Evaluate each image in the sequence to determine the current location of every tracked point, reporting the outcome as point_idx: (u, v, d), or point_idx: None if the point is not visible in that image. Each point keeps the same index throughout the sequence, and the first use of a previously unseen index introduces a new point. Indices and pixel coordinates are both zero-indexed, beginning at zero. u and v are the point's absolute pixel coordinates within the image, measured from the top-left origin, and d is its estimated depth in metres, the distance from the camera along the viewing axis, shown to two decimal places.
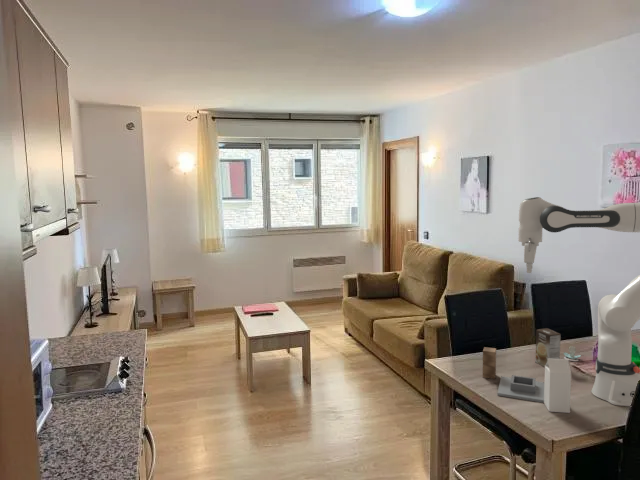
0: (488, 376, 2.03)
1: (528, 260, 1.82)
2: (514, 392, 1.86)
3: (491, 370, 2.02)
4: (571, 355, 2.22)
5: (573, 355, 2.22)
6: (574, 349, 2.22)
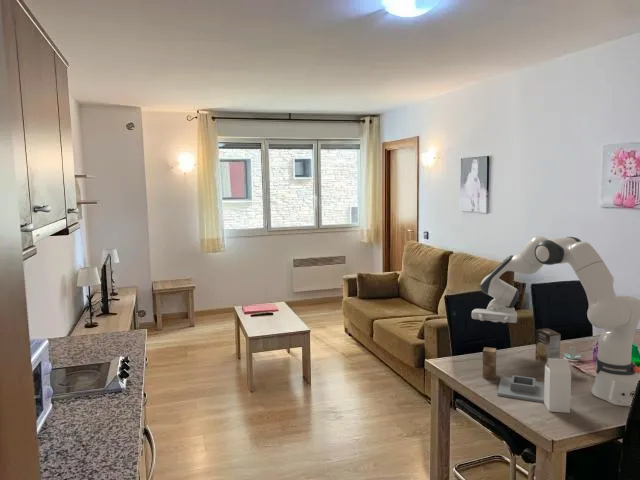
0: (488, 376, 2.03)
1: (471, 315, 2.23)
2: (514, 392, 1.86)
3: (491, 370, 2.02)
4: (571, 355, 2.22)
5: (573, 355, 2.22)
6: (574, 349, 2.21)
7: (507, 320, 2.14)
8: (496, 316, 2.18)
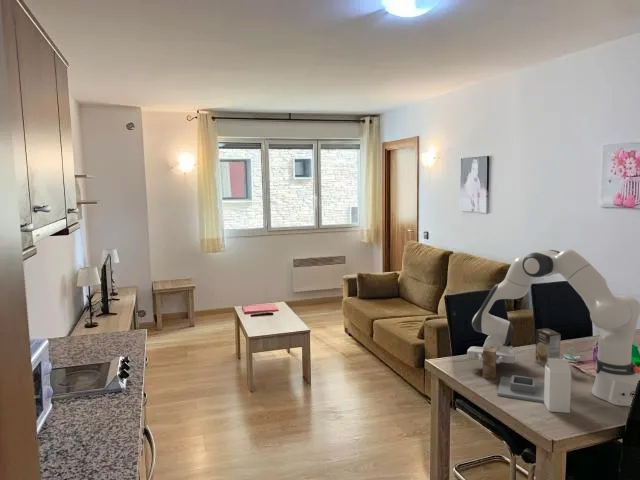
0: (488, 376, 2.03)
1: (467, 353, 2.13)
2: (514, 392, 1.86)
3: (491, 370, 2.02)
4: (570, 356, 2.21)
5: (572, 356, 2.21)
6: (573, 350, 2.20)
7: (501, 360, 2.04)
8: None
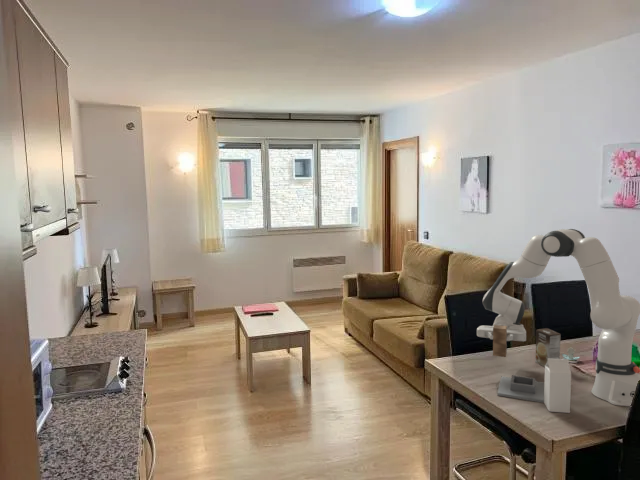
0: (499, 354, 1.97)
1: None
2: (514, 392, 1.86)
3: (502, 348, 1.96)
4: (570, 357, 2.21)
5: (572, 357, 2.20)
6: (573, 350, 2.20)
7: (511, 338, 1.98)
8: None
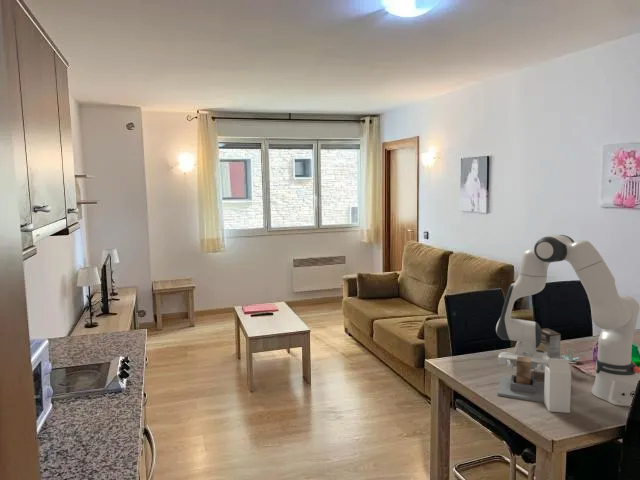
0: None
1: (498, 360, 1.98)
2: (514, 392, 1.86)
3: (526, 381, 1.87)
4: (569, 357, 2.20)
5: (571, 357, 2.19)
6: (572, 351, 2.19)
7: (540, 368, 1.88)
8: None
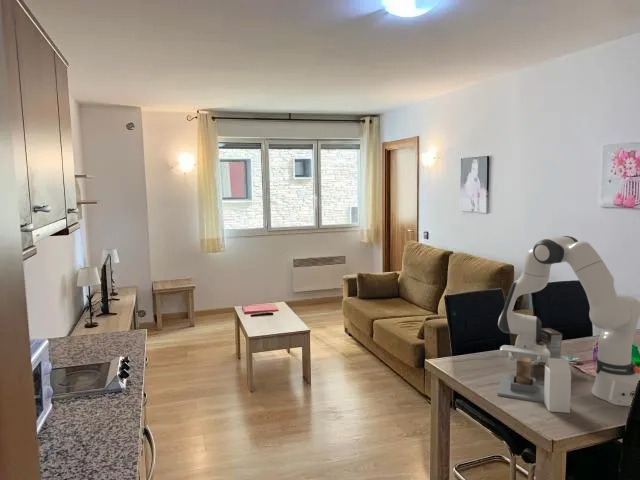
0: None
1: None
2: (514, 392, 1.86)
3: (526, 381, 1.87)
4: (569, 357, 2.19)
5: (571, 357, 2.19)
6: (572, 351, 2.19)
7: (540, 360, 1.97)
8: (527, 355, 2.01)
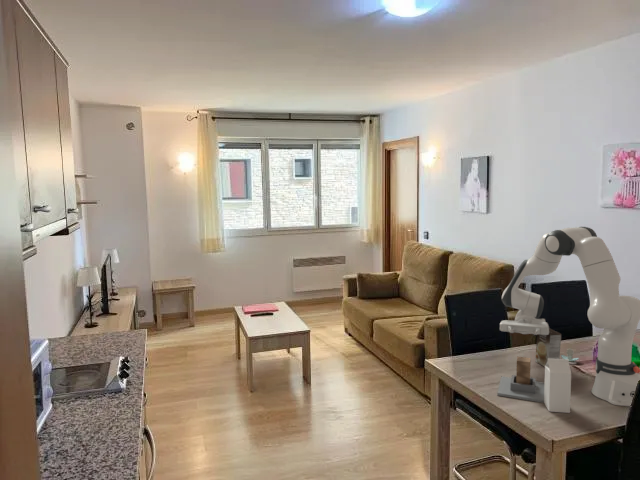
0: None
1: None
2: (514, 392, 1.86)
3: (526, 381, 1.87)
4: (569, 358, 2.19)
5: (571, 358, 2.19)
6: (572, 352, 2.18)
7: (538, 332, 2.03)
8: (526, 328, 2.07)
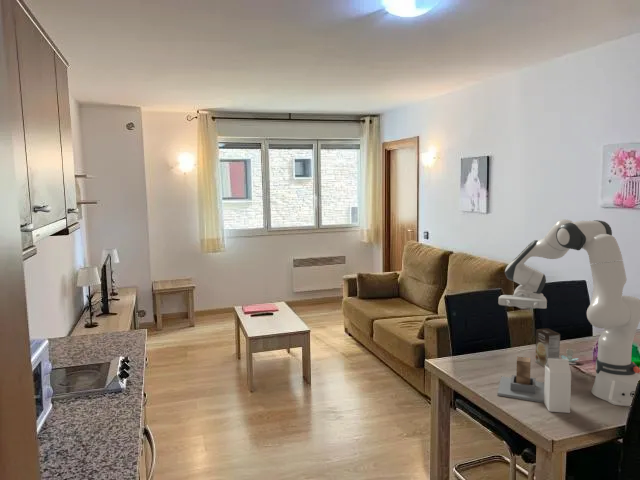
0: None
1: None
2: (514, 392, 1.86)
3: (526, 381, 1.87)
4: (568, 358, 2.19)
5: (570, 358, 2.18)
6: (571, 352, 2.18)
7: (536, 305, 2.07)
8: (524, 302, 2.11)
